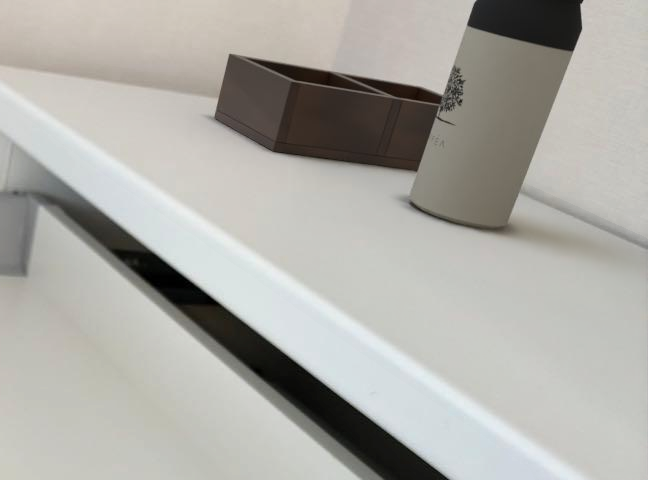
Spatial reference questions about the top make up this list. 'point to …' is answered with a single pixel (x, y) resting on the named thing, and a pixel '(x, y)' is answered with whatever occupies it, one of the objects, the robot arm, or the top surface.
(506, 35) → the travel mug
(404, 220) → the top surface
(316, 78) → the divided wooden tray
